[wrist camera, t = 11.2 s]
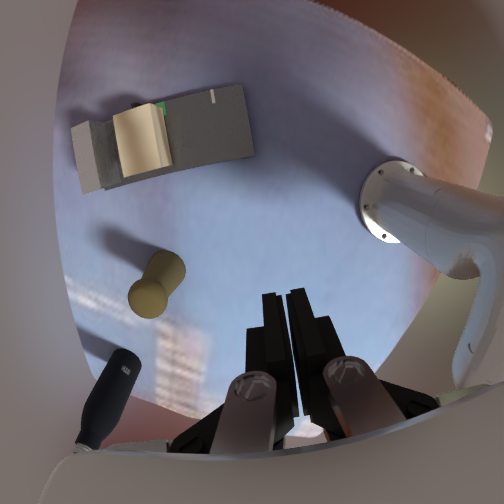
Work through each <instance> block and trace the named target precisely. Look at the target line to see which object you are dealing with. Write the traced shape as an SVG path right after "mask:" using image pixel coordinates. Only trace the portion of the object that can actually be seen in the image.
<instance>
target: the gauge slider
mask: <svg viewBox="0 0 504 504" xmlns="http://www.w3.org/2000/svg"><path fill="white" fill-rule="evenodd" d="M131 106H132V109H130V110H127V111H124V112H122V113H119V114H116V115H113V121H114V127H115V134H116V140H117V145H118V151H119V156H120V161H121V166H122V171H123V176H124V177H128V176H132V175H136V174H140V173H143V172H147V171H151V170H154V169H158V168H162V167H166V166H170V165H173V164H172V159H171V154H170V149H169V143H168V138H167V132H166V127H165V121H164V115H163V109H162V108H160V107H158V106H156V105H153V104H151V103H148V104H145V105H141V104H139V103H136V102H135V103H132V104H131Z"/></svg>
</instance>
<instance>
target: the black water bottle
mask: <svg viewBox="0 0 504 504" xmlns="http://www.w3.org/2000/svg"><path fill="white" fill-rule="evenodd" d="M141 366H142V365H141V361H140V360H139V358H138V357H137V356H136V355H135V354H134V353H132V352H131V351H128V350H126V349H117V350H115V351H114V353H113V354H112V356H111V358H110V359H109V361H108V363H107V365H106V366H105V368H104V370H103V372H102V373H101V375H100V377H99V379H98V381H97V382H96V384H95V386H94V388H93V390H92V392H91V393H90V395H89V397H88V399H87V401H86V403H85V405H84V409H83V413H82V418H81V431H80V433H79V435H78V437H77V439H76V441H75V443H76V445H75V448H74V449H73V450H74V452H73V453H74V454H75V453H79V452H84V451H91V450H99V447H100V445H101V442H102V441H103V440H104V439H105V438H106V437H107V436H108V435H109V434H110V433H111V432H112V430H113V429H114V428H115V427H116V425H117V424H118V422H119V419H120V417H121V415H122V412H123V410H124V407H125V405H126V402H127V400H128V398H129V395H130V393H131V391H132V388H133V386H134V384H135V381H136V379H137V377H138V374H139V372H140V370H141Z"/></svg>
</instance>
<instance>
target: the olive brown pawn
mask: <svg viewBox="0 0 504 504" xmlns="http://www.w3.org/2000/svg"><path fill="white" fill-rule="evenodd" d="M185 273H186V269H185V265H184V262H183V260H182V259H181V258H180V257H179V256H178V255H176V254H175V253H173V252H170V251H160V252H157V253H155V254H154V255H153V256H152V258H151V259H150V261H149V263H148V266H147V268H146V270H145V272H144V274H143V276H142V278H141V279H140V280H138V281H136V282H135V283H134V284H133V285H132V286H131V288H130V290H129V292H128V301H129V305H130V307H131V309H132V310H133V311H134V312H135V313H136V314H137V315H138V316H140V317H143V318H146V319H152V318H156V317H158V316H160V315H161V314H162V313H163V312H164V310H165V309H166V307H167V303H168V297H169V296H170V295H171V293H172V292H173V291H174V290H175V289H176V288H177V287H178V285H179V284H180V283H181V282H182V281H183V279H184V277H185Z"/></svg>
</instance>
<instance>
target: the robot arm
mask: <svg viewBox="0 0 504 504" xmlns="http://www.w3.org/2000/svg"><path fill="white" fill-rule="evenodd" d="M378 171H380V173H378ZM364 205H366V207H365V208H364ZM359 208H360V213H361V217H362V220H363V222H364V224H365V226H366V228H367V229H368V230H369V231H370V232H371V233H372V234H373V235H374V236H375V237H376V238H378V239H380V240H381V241H384V242H388V243H400V242H401V243H403V244H404V245H405V246H407V247H408V248H410V249H411V250H412V251H414V252H415V253H416V254H418V255H419V256H420V257H422V258H423V259H424V260H426V261H427V262H428V263H430V264H431V265H432V266H434V267H435V268H436V269H438V270H439V271H440V272H442V273H443V274H445V275H446V276H448V277H450V278H453V279H457V280H469V279H474V278H477V277H479V283H478V288H477V291H476V294H475V300H474V303H473V306H472V309H471V312H470V314H469V317H468V320H467V323H466V325H465V328H464V331H463V333H462V336H461V339H460V341H459V343H458V347H457V349H456V352H455V355H454V358H453V363H452V375H453V380H454V383H455V385H456V387H457V388H458V390H456V391H450V392H445V393H440V394H438V395H437V397H435V398H432V397H431V396H429V395H427V394H424V393H421V392H417V391H414V390H411V389H407V388H404V387H401V386H398V385H395V384H391V383H389V382H386V381H383V380H380V379H378V378H377V376H376V375H375V374H374V372H373V371H372V369H371V368H370V367H369V365H368V364H367V363H366V362H365V361H364V360H362V359H360V358H358V357H354V356H346V355H345V353H344V350H343V348H342V345H341V343H340V340H339V338H338V336H337V333H336V331H335V328H334V326H333V324H332V321H331V319H330V317H329V316H323V317H318V318H315V317H314V315H313V312H312V309H311V306H310V303H309V300H308V297H307V294H306V292H305V289H304V288H299V289H293V290H290V291H291V293H290V294H286V301H287V309H288V317H289V325H290V333H291V341H292V349H293V355H294V361H295V366H296V372H297V378H298V383H299V389H300V395H301V401H302V407H303V413H304V416H306V415H310V419H311V423H314V424H316V425H318V426H320V427H322V428H323V432H324V435H325V438H326V440H327V442H326V443H320V444H315V445H309V446H303V447H297V448H290V449H285V445H286V434H287V433H288V432H289V431H290V430H291V429H292V428H293V427H294V419H293V418H294V417H299V408H298V398H297V389H296V380H295V371H294V362H293V355H292V349H291V344H290V338H289V333H288V327H287V322H286V316H285V311H284V306H283V300H282V295H278V296H276V292H274V293H267V294H262V302H263V318H264V326H262V327H255V328H248V329H247V332H246V368H245V373H243V374H241V375H239V376H238V377H236V378H235V379H234V380H233V381H232V382H231V384H230V386H229V389H228V393H227V396H226V400H225V403H224V404H222V405H221V406H220V407H218V408H217V409H215V410H214V411H213V412H211V413H210V414H209V415H207V416H206V417H204V418H203V419H202V420H200V421H199V422H197V423H196V424H195V425H193V426H192V427H190V428H189V429H187V430H186V431H185V432H183V433H181V434H180V435H179V436H177V437H176V438H175V439H174V440H173V441H170V442H168V441H167V440H166V439H162V440H155V441H146V442H136V443H122V444H114V445H111V446H110V447H108V448H106V449H104V450H103V449H102V450H91V451H84V452H79V453H75V454H73V455H70V456H67V457H66V458H64V459H63V460H62V461H61V462H60V463H59V464H58V465H57V466H56V467H55V469H54V471H53V472H52V474H51V475H50V477H49V479H48V481H47V483H46V485H45V487H44V489H43V491H42V494H41V496H40V499H39V501H38V504H504V197H502V196H497V195H493V194H489V193H485V192H481V191H478V190H474V189H471V188H467V187H464V186H460V185H457V184H453V183H449V182H445V181H441V180H437V179H433V178H429V177H425V176H424V175H423V174H422V173H421V171H420V170H419V169H417V168H416V167H415V166H413V165H412V164H410V163H407V162H404V161H398V160H395V161H388V162H384V163H382V164H380V165H379V166H377V167H376V168H375V169H373V170H372V171H371V172H370V174H369V175H368V176H367V178H366V180H365V181H364V183H363V186H362V189H361V192H360V199H359ZM382 234H383V235H382Z"/></svg>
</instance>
